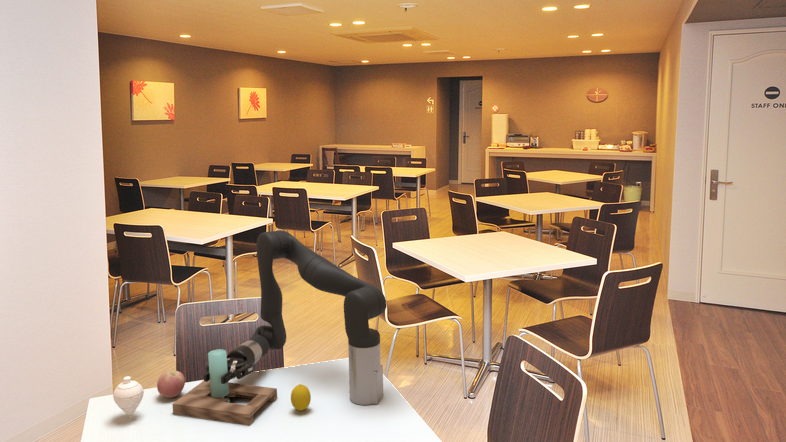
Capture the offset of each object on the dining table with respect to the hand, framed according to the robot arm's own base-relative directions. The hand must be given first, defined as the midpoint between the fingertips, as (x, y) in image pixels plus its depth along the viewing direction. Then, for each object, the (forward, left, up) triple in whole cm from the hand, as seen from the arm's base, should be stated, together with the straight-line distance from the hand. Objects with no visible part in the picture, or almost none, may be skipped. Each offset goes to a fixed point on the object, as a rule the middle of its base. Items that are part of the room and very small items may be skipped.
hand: (213, 379), depth 167 cm
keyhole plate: (-2, -3, -9) cm, 10 cm away
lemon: (-24, -6, -9) cm, 26 cm away
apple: (+17, -4, -9) cm, 20 cm away
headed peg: (0, -3, -9) cm, 9 cm away
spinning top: (+20, +10, -9) cm, 25 cm away
